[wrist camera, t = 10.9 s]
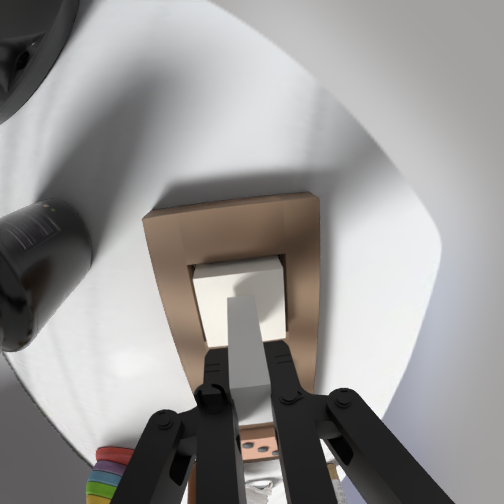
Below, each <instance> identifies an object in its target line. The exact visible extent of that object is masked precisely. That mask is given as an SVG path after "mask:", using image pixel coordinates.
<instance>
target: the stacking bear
mask: <svg viewBox="0 0 504 504" xmlns="http://www.w3.org/2000/svg"><path fill="white" fill-rule="evenodd" d="M133 452H134V450H131V449H125V448H115V447H106V448H100V449H98V450H97V451H96V460H97V463H96V464H95V466H94V468H93V470H92V472H91V473H90V475H89V478H88V483H87V485H86V494H87V504H109V503H110V501H111V499H112V497H113V495H114V492H115V490H116V488H117V486H118V484H119V482H120V480H121V477H122V475H123V473H124V471H125V469H126V467H127V465H128V463H129V460H130V458H131V456H132V454H133Z"/></svg>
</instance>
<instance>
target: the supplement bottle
mask: <svg viewBox="0 0 504 504" xmlns="http://www.w3.org/2000/svg"><path fill="white" fill-rule="evenodd" d="M91 258H92V247H91V240H90V236H89V233H88V230H87V228H86V225H85V224H84V222H83V220H82V219H81V217H80V216H79V214H78V213H77V212H76V211H75V210H74V209H73V208H72V207H70V206H69V205H67V204H66V203H64V202H62V201H59V200H54V199H46V200H42V201H39V202H36V203H34V204H31V205H29V206H26V207H24V208H22V209H19V210H17V211H15V212H12V213H10V214H8V215H6V216H4V217H2V218H0V354H1V351H5V352H17V351H20V350H23V349H25V348H26V347H27V346H29V344H30V343H31V342H32V341H33V340H34V338H35V337H36V336H37V335H38V333H39V332H40V331H41V329H42V328H43V327H44V325H45V324H46V323H47V322H48V320H49V319H50V318H51V317H52V315H53V314H54V313H55V312H56V310H57V309H58V308H59V307H60V306H61V304H62V303H63V302H64V301H65V300H66V298H67V297H68V296H69V295H70V294H71V293H72V291H73V290H74V289H75V288H76V287H77V286H78V284H79V283H80V282H81V281H82V280H83V278H84V277H85V276H86V274H87V272H88V270H89V267H90V263H91Z"/></svg>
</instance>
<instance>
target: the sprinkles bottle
mask: <svg viewBox="0 0 504 504" xmlns="http://www.w3.org/2000/svg"><path fill="white" fill-rule="evenodd" d="M327 466H328V470H329V473H330V477H331V480H332V484H333V487H334V491H335V494H336V498H337V501H338V504H347V502H346V498H345V495H344V492H343V489H342V486H341V482H340V480H339V477H338V474H337V471H336V466H335V465H334V464H327Z"/></svg>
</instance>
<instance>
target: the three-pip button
mask: <svg viewBox="0 0 504 504" xmlns="http://www.w3.org/2000/svg"><path fill="white" fill-rule="evenodd" d="M239 433H240V436H241V447H242V458H243V460H247V459H257V458H265V457H273V456H279V454H278V449H277V443H276V440H275V431H274V426H271V427H263V428H255V429H246V430H239Z"/></svg>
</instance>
